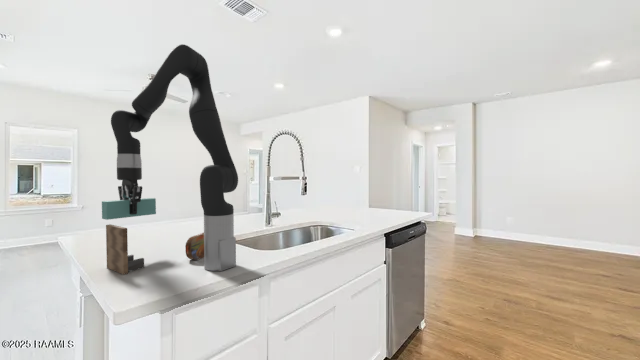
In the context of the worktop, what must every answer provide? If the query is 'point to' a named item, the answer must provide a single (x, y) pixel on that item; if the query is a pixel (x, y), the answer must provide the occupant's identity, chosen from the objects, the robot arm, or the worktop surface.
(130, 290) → the worktop surface
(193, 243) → the tin
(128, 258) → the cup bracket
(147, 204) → the rail
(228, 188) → the robot arm
